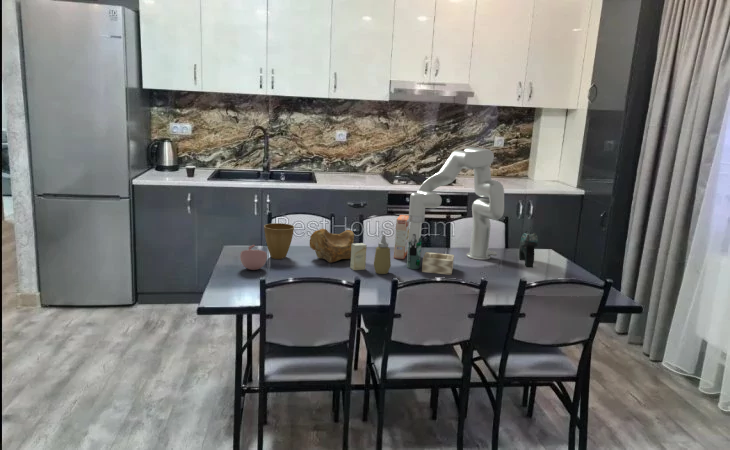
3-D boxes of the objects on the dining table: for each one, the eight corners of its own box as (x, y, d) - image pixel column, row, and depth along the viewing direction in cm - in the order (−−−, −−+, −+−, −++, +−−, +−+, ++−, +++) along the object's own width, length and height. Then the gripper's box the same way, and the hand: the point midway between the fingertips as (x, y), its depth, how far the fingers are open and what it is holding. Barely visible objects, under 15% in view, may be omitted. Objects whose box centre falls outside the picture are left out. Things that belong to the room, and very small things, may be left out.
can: (420, 269, 266) (422, 239, 263) (407, 269, 265) (410, 238, 262) (418, 265, 272) (420, 236, 269) (406, 265, 271) (408, 236, 268)
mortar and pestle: (266, 265, 259) (267, 242, 257) (266, 273, 248) (267, 248, 245) (240, 265, 257) (240, 242, 255) (239, 273, 246) (239, 248, 243)
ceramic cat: (535, 268, 277) (540, 230, 273) (523, 268, 277) (527, 229, 273) (526, 258, 296) (530, 222, 292) (514, 257, 297) (518, 221, 292)
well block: (452, 268, 270) (454, 254, 269) (451, 274, 259) (452, 261, 258) (424, 265, 273) (425, 252, 272) (421, 271, 262) (422, 258, 260)
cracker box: (404, 259, 282) (407, 219, 277) (393, 258, 283) (395, 218, 279) (408, 253, 295) (410, 215, 291) (397, 252, 296) (399, 214, 292)
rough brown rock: (314, 267, 264) (317, 237, 260) (306, 255, 279) (309, 227, 275) (360, 266, 272) (363, 237, 268) (349, 254, 287) (352, 227, 283)
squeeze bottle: (384, 276, 252) (387, 238, 248) (369, 272, 256) (371, 235, 252) (393, 272, 259) (395, 235, 255) (378, 269, 263) (380, 232, 259)
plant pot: (270, 262, 265) (270, 230, 261) (259, 254, 277) (259, 224, 274) (298, 259, 272) (299, 228, 269) (286, 252, 285) (287, 222, 281)
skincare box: (353, 270, 258) (355, 245, 256) (349, 268, 262) (350, 243, 260) (365, 269, 261) (367, 244, 259) (361, 266, 265) (362, 242, 262)
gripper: (411, 214, 273) (408, 248, 276) (406, 221, 256) (403, 256, 259) (426, 216, 271) (423, 249, 275) (422, 222, 254) (419, 258, 258)
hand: (414, 252), depth 267 cm, fingers open, 9 cm apart
